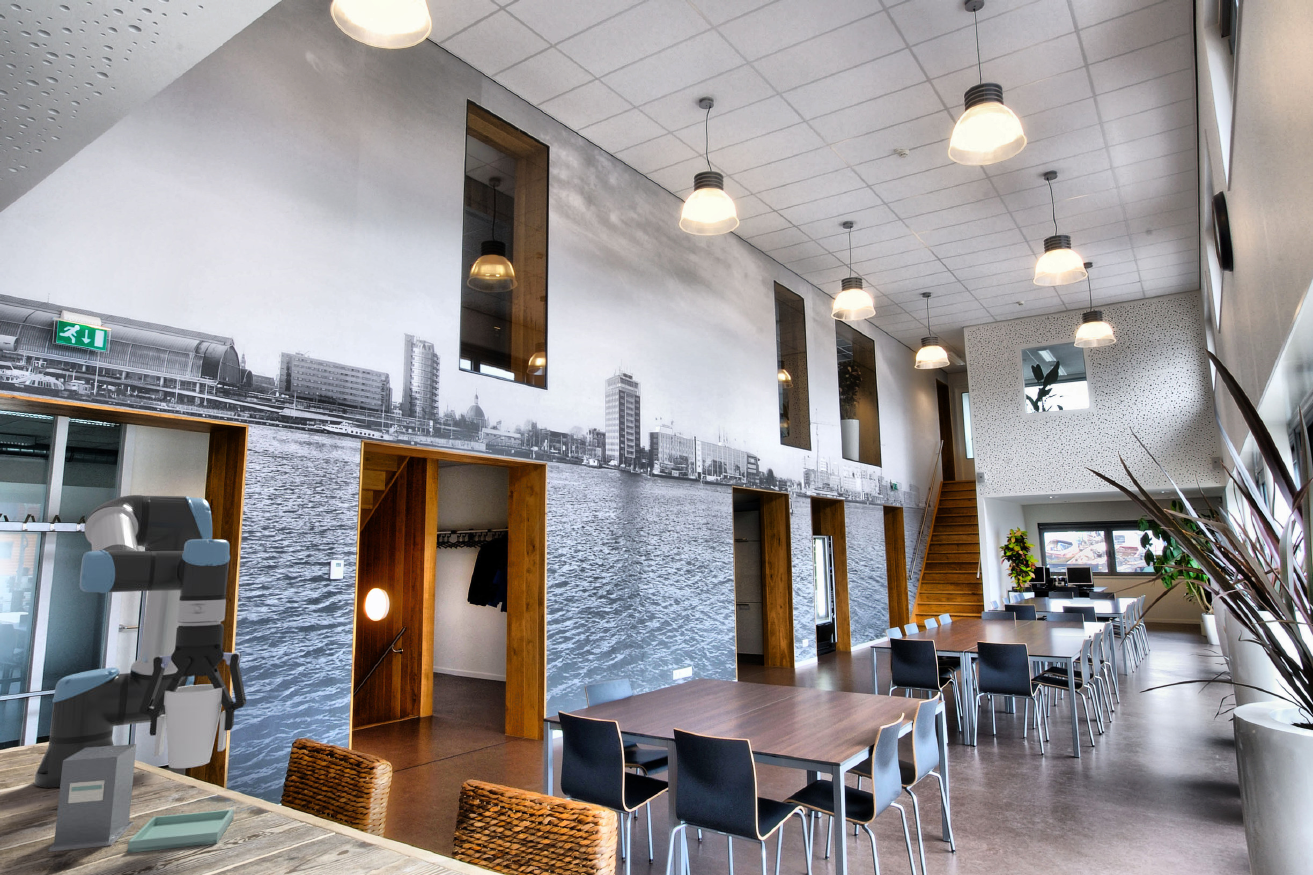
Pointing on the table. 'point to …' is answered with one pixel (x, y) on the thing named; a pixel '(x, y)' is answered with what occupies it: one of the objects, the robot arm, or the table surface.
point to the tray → (181, 830)
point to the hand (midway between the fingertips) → (190, 751)
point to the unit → (94, 797)
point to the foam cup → (191, 724)
